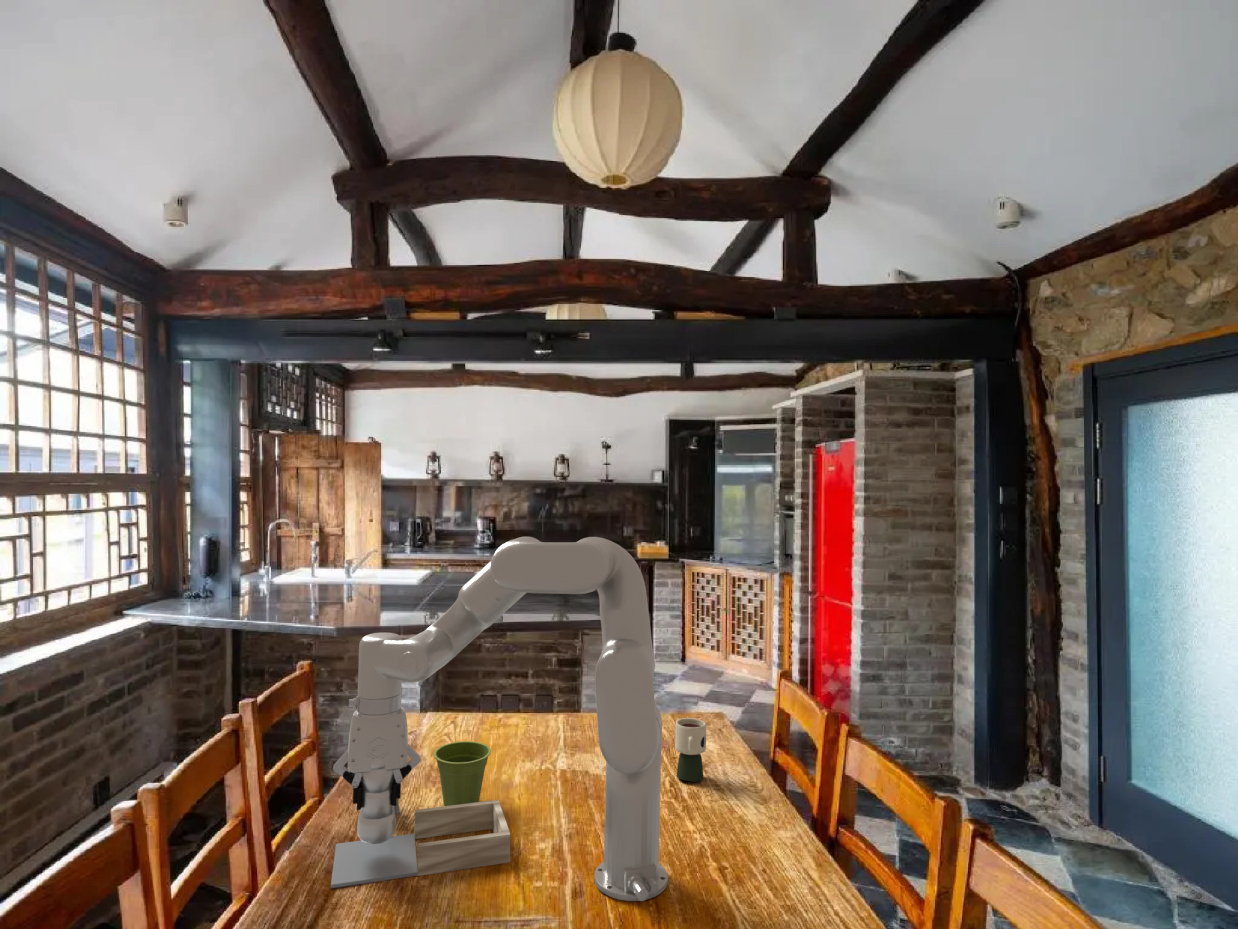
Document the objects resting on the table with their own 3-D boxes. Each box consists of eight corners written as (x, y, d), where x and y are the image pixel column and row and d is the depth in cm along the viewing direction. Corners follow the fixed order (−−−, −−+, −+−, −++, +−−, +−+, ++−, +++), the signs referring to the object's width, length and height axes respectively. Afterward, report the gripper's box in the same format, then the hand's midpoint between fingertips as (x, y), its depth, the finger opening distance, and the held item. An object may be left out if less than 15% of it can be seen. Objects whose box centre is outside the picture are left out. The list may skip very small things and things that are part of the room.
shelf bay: (509, 862, 129) (510, 834, 129) (417, 876, 124) (418, 847, 124) (497, 825, 143) (498, 799, 143) (414, 836, 138) (414, 810, 138)
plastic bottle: (383, 851, 125) (387, 736, 125) (348, 846, 126) (352, 732, 127) (402, 833, 131) (405, 723, 132) (368, 829, 132) (371, 720, 133)
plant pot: (420, 812, 147) (422, 757, 148) (453, 789, 159) (454, 738, 159) (470, 822, 143) (471, 766, 144) (500, 798, 154) (501, 745, 155)
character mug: (706, 790, 160) (707, 731, 161) (674, 788, 161) (675, 730, 161) (704, 770, 171) (705, 715, 172) (674, 769, 172) (675, 714, 172)
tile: (417, 875, 124) (417, 872, 124) (330, 888, 120) (330, 885, 120) (414, 836, 137) (414, 833, 137) (336, 847, 133) (336, 843, 133)
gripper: (326, 714, 123) (323, 820, 122) (429, 706, 128) (427, 808, 128) (329, 701, 130) (327, 801, 130) (427, 694, 135) (424, 790, 135)
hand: (376, 804), depth 129 cm, fingers closed on plastic bottle, 5 cm apart
